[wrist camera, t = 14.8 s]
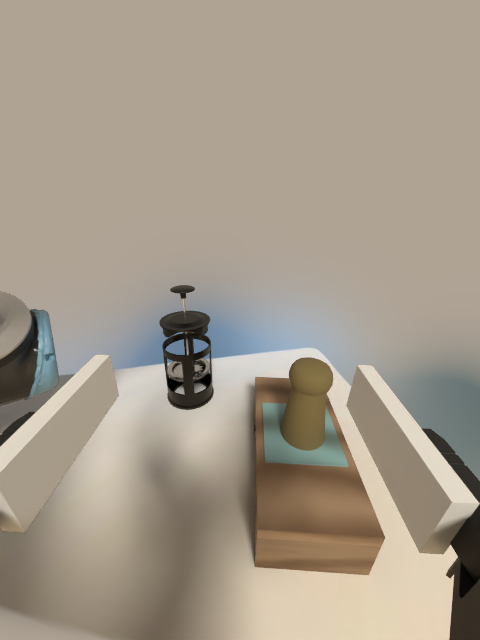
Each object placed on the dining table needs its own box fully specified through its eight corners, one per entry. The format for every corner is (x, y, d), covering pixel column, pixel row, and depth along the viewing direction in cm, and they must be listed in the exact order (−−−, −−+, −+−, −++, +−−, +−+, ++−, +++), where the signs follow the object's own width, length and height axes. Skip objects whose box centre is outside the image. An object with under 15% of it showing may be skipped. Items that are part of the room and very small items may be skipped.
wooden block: (368, 575, 26) (385, 535, 23) (254, 566, 27) (257, 527, 24) (315, 409, 48) (321, 378, 45) (254, 406, 49) (255, 375, 46)
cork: (280, 412, 37) (287, 348, 33) (322, 418, 36) (334, 354, 32) (278, 446, 32) (286, 375, 28) (327, 454, 31) (343, 383, 26)
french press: (215, 409, 48) (211, 295, 38) (165, 415, 46) (148, 297, 37) (211, 373, 58) (208, 277, 49) (170, 376, 57) (159, 278, 48)
